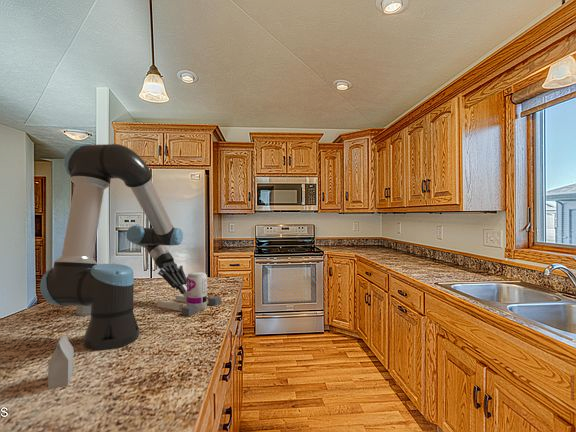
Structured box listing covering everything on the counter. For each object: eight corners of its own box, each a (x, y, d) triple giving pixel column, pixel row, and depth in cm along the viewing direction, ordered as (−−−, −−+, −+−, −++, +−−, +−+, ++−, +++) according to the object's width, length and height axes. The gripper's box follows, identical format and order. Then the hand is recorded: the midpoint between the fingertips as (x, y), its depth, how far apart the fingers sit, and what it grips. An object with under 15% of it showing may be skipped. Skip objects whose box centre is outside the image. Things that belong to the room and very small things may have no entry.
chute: (188, 316, 120) (189, 308, 120) (149, 309, 129) (149, 301, 129) (221, 303, 138) (221, 297, 138) (184, 297, 147) (184, 291, 147)
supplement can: (192, 312, 125) (193, 275, 125) (183, 308, 131) (183, 273, 131) (210, 308, 131) (210, 273, 131) (200, 304, 136) (200, 270, 137)
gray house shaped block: (73, 372, 77) (73, 332, 77) (68, 385, 70) (68, 342, 71) (55, 375, 75) (55, 334, 75) (48, 389, 69) (48, 345, 69)
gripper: (168, 260, 148) (195, 299, 141) (146, 264, 137) (173, 307, 129) (177, 250, 146) (204, 289, 139) (154, 253, 134) (183, 296, 127)
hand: (189, 298), depth 134 cm, fingers closed
